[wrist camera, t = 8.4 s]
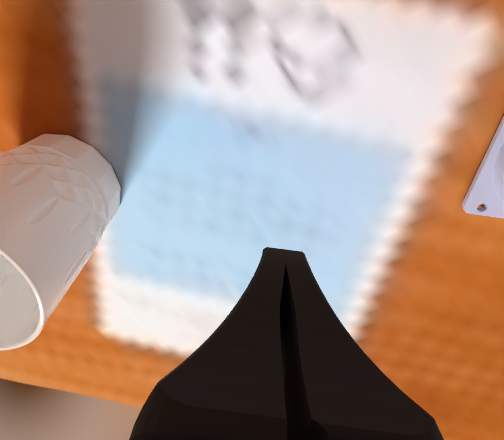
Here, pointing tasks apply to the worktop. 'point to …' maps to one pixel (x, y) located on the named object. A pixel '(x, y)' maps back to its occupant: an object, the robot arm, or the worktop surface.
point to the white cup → (48, 227)
